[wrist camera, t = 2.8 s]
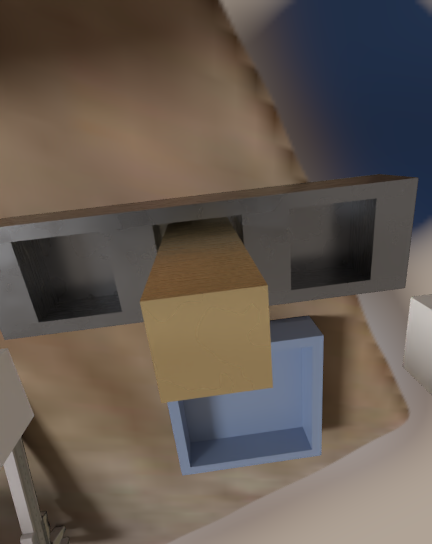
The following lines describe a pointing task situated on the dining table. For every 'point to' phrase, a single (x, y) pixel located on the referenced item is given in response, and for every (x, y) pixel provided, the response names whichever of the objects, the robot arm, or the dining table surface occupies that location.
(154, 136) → the dining table surface
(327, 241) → the socket rail
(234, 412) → the tray
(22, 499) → the caliper
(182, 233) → the brass peg
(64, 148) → the dining table surface
